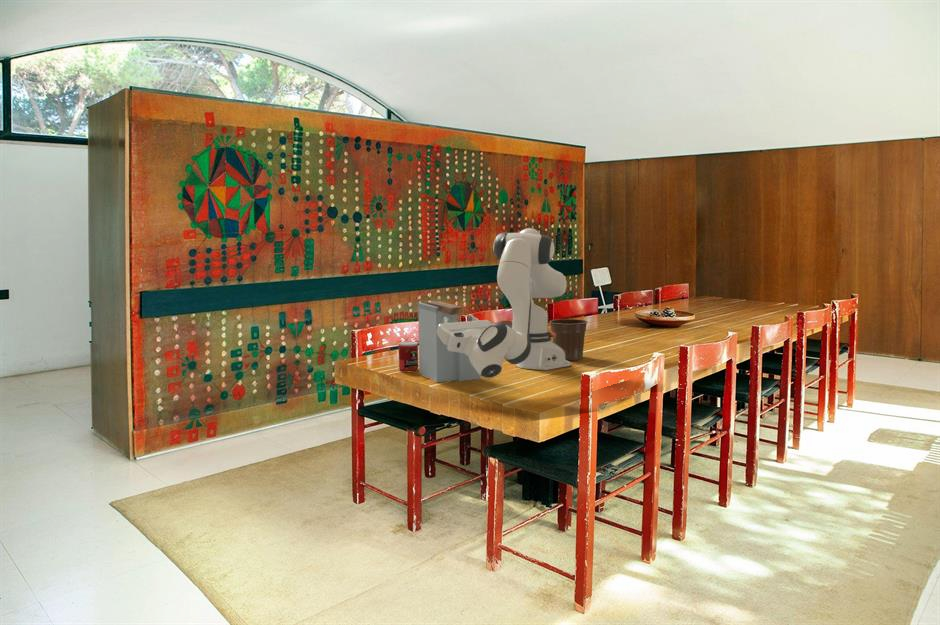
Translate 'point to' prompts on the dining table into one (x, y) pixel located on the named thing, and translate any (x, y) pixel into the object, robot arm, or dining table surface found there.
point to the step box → (440, 349)
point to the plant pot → (569, 336)
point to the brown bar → (446, 307)
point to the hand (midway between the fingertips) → (457, 317)
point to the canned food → (408, 356)
